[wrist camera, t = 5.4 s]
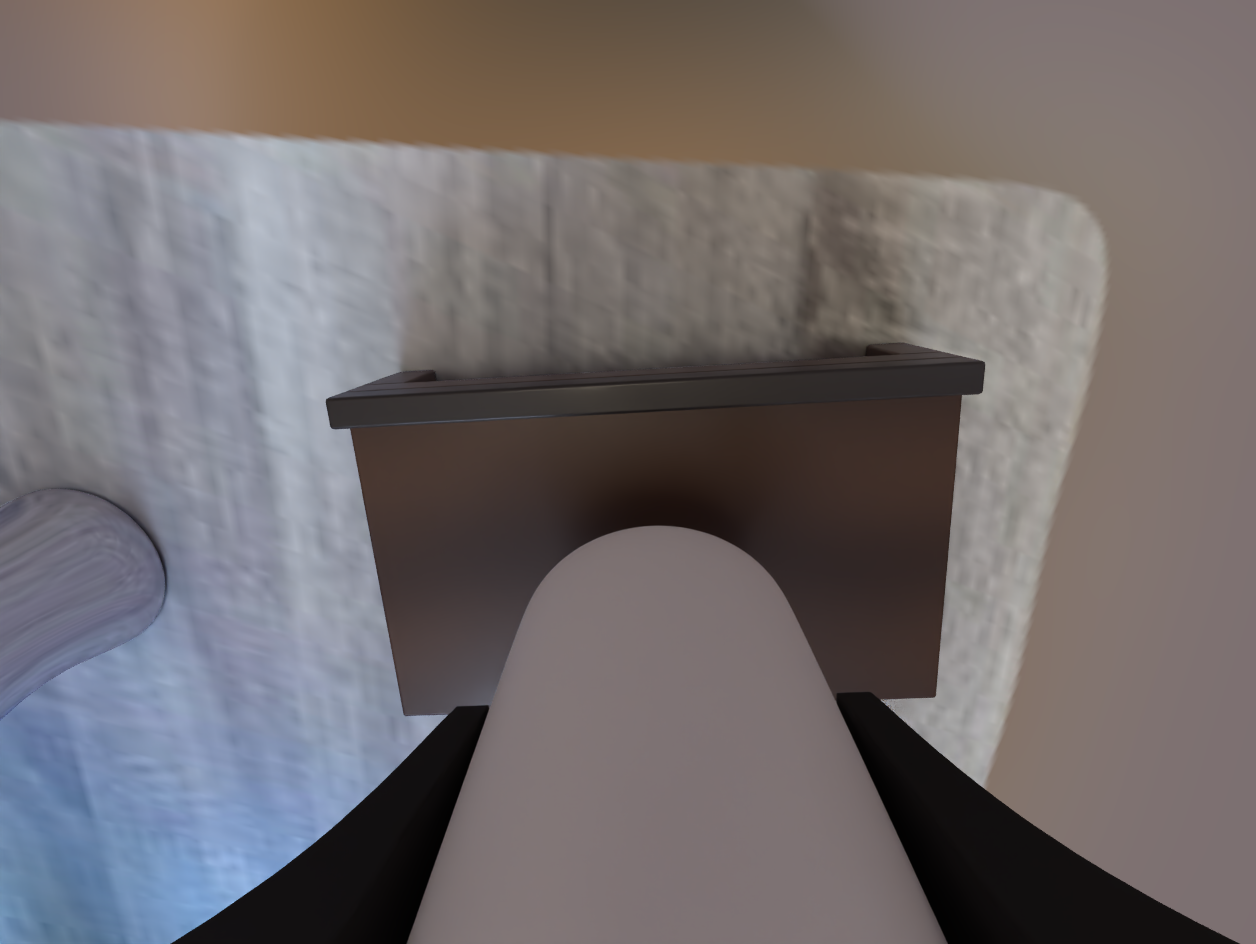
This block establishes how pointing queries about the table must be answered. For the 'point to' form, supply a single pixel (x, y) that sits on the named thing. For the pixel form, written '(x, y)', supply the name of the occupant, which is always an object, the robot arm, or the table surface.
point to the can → (667, 772)
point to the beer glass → (69, 586)
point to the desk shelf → (665, 500)
